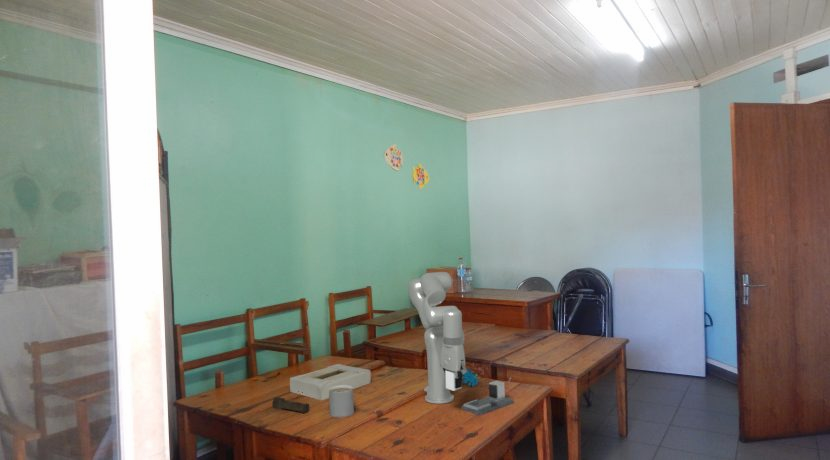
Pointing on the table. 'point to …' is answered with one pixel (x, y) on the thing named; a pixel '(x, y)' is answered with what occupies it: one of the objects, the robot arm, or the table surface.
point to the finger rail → (489, 400)
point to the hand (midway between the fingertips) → (453, 385)
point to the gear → (470, 378)
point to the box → (328, 380)
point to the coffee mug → (341, 401)
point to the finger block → (451, 380)
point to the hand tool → (290, 405)
